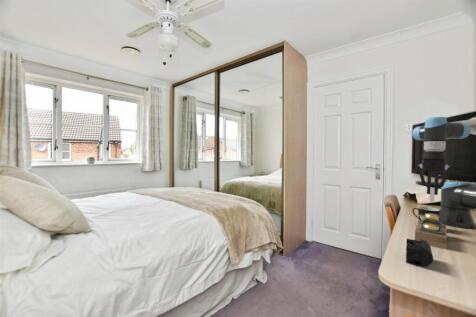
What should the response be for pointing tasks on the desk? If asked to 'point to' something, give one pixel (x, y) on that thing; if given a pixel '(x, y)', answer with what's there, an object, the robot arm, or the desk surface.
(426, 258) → the end cap
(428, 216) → the knob
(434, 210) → the coffee mug
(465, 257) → the desk surface
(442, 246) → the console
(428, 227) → the knob
